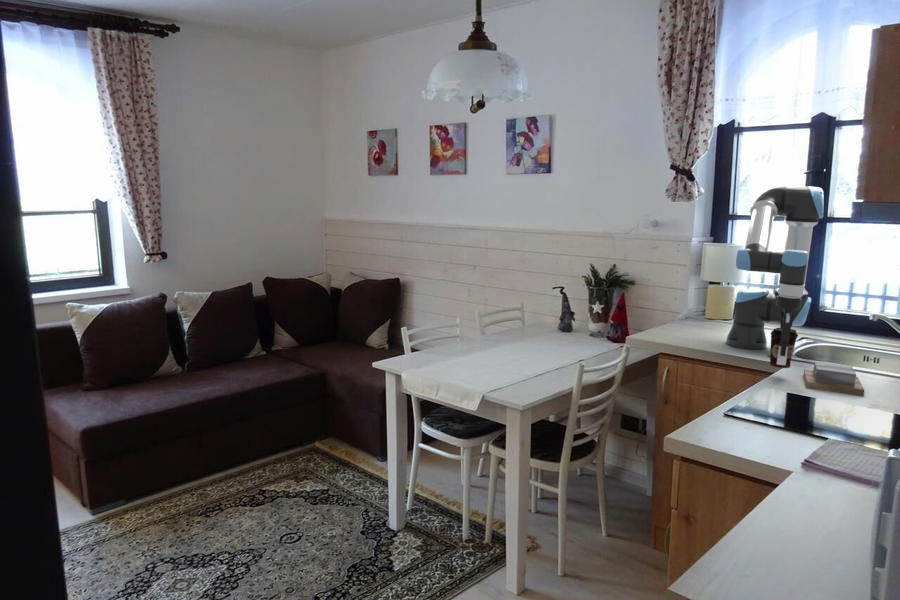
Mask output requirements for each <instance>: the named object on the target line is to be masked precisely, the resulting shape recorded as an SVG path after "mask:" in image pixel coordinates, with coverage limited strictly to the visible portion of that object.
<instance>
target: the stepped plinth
mask: <svg viewBox="0 0 900 600" xmlns="http://www.w3.org/2000/svg"><path fill="white" fill-rule="evenodd" d="M854 369H855V368H854V367H853V366H852V365H845V364H838V363H831V362H823V361H816V360H815V361H814V364H813V369H812V370H811V369H804V370H803V378H805V379H804V382H805V387H809V388H808V389H813V388H815V389H814V390H820V389H822V390H821V391H826V390H829V391H828V392H833V391H834V393H840V394H841V393H842V394H848V395H853V396H854V395H855V396H861V397H862V396H863V397H864V396H865V388H864V386H863V385H862V382H861V381H860V379H859V377H858V376H857V373H856V372H855V370H854Z"/></svg>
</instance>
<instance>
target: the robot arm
mask: <svg viewBox="0 0 900 600" xmlns="http://www.w3.org/2000/svg"><path fill="white" fill-rule="evenodd" d="M824 206H825V205H824V190H823V189H822V188H821V187H818V186H802V185H800V186H798V185H794V186H793V185H775V186H772V187H768V188H767V189H764V190H763V191H761V192H760V193H759V194H758V195H757V196H756V197H755V198H754V199H753V201H752V203H751V205H750V209H749V213H750V216H751V219H750V222H749V223H750V224H749V226H748V227H749V228H748V233H747V236H746V242H745V246H744V248H740V249H738V250H737V252H736V258H735V259H736V260H735V267H736V268H735V269H737V270H741V271H746V272H760V273H772V274H779V280H778V284H777V285H776V286H775V290H774V293H770V291H769V289H767V288H744V289H740V290H739V291H738V292H737V293H736V298H735V301H734V302H735V304H734V314H733V321H732V325H731V328H730V330H729V332H728V334H727V336H726V340H725V343H726V344H727V345H729V346H732V347H735V348H740V349H746V350H765V349H766V348H767V345H768V342H767V335H766V331H765V324H766V323H770V324H779V325H780V327H779V328H782V330H781V339H780V344H777V346H779V350H778V357H777V364H778V365H785V366H786V359H787V352H788V346H789V338H790V331H791V329H792V327H794V326H797V327H801V326H803V325H804V324H805V322H807V321H806V320H807V317H808V314H809V312H810V311H809V310H810V307H811V303H812V298H811V297H809V292H808V291H807V290H806V288H805V287H806V280H807V272H808V263H809V257H810V252H811V251H810V249H811V244H812V239H813V238H812V237H813V228H814V227H815V226H817V225H818V223H819V220H820V219H823V218H824V208H825V207H824ZM778 216H779V217H784V223H785V224H786V225H787V231H786V240H785V246H784V251H775V250H774V251H773V250H769V245H770V239H771V234H772V229H773V222H774V219H775V218H776V217H778ZM786 342H787V343H786Z"/></svg>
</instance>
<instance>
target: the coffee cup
mask: <svg viewBox="0 0 900 600" xmlns="http://www.w3.org/2000/svg"><path fill="white" fill-rule="evenodd" d="M781 330H782V328H780V327H774V328H773V330H772V331H771V332H770V348H769V349H770V351H769V365H770V366H772V367H775V368H781V369H789V368H791V367H792V366H791V363H792V362H791V361H792V357H793V354H794V351H795V346H796V342H797V339H798V338H799V337H798V336H799V334H798V333H797V329H793V328H791V331H790V338H789V346H788V352H787V359H786V366H785V365H778V364H777V357H778V350H779V346H777V344H780V339H781ZM786 343H787V342H786Z"/></svg>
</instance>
